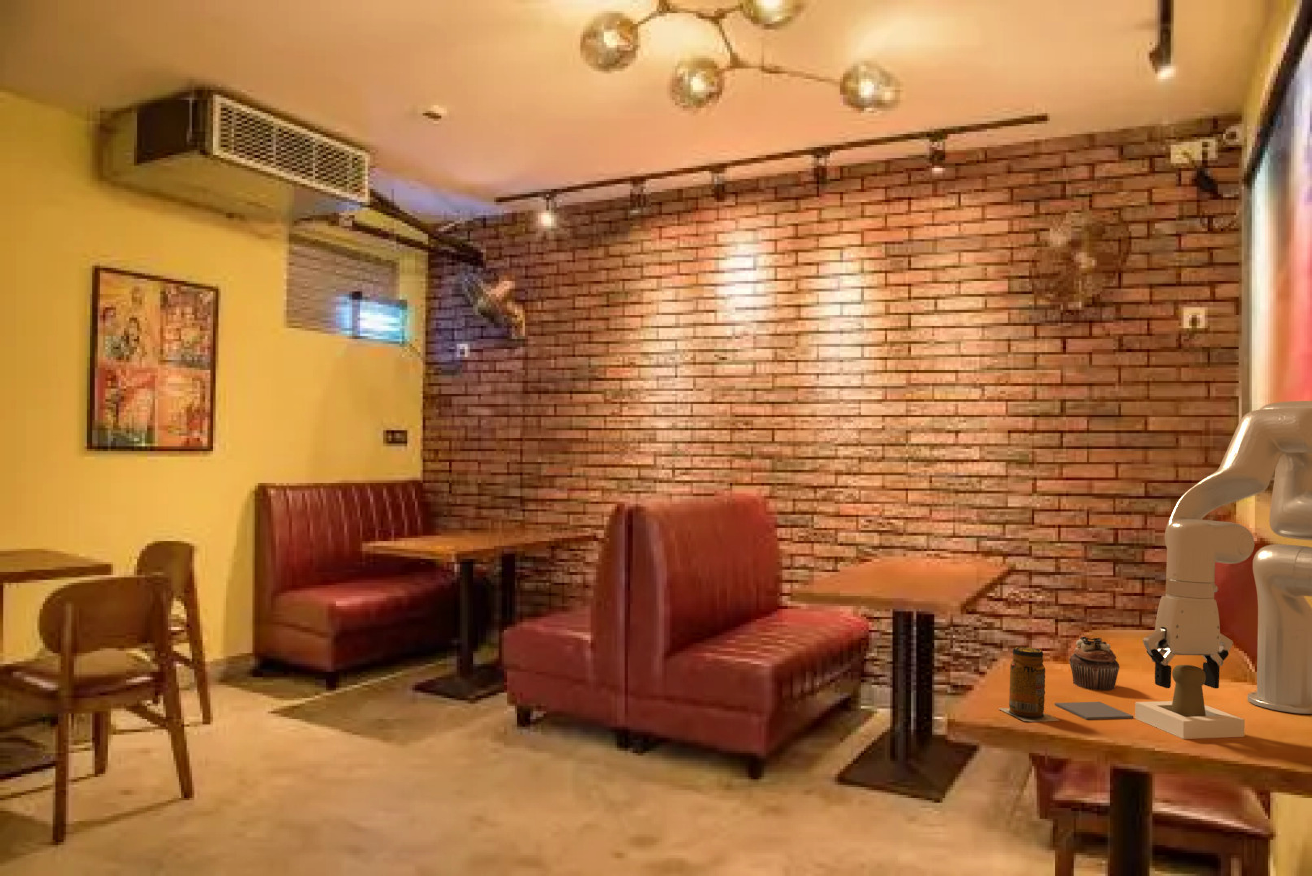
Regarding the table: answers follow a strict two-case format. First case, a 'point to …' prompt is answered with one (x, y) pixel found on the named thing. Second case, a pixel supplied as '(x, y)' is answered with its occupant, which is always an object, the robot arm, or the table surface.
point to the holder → (1189, 721)
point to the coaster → (1093, 710)
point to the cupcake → (1094, 665)
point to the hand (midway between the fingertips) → (1186, 686)
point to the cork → (1188, 691)
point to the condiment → (1027, 686)
